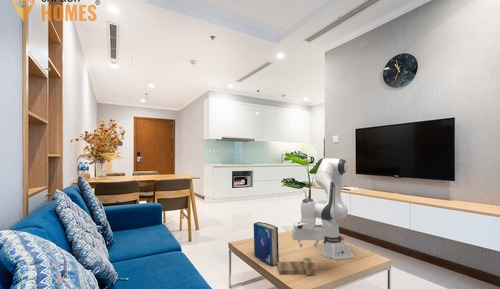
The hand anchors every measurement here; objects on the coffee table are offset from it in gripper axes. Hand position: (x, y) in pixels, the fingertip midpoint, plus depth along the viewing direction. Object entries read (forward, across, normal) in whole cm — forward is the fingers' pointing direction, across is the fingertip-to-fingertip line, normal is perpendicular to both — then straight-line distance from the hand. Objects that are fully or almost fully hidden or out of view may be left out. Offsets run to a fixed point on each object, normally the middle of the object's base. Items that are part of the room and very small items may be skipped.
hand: (308, 246), depth 147 cm
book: (+16, +26, -19) cm, 36 cm away
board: (+16, +8, -4) cm, 18 cm away
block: (+16, 0, 0) cm, 16 cm away
